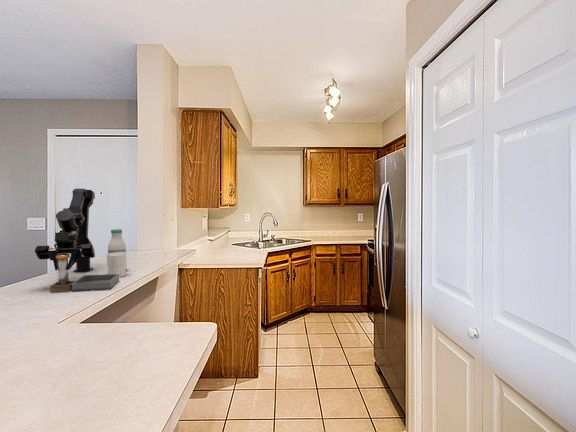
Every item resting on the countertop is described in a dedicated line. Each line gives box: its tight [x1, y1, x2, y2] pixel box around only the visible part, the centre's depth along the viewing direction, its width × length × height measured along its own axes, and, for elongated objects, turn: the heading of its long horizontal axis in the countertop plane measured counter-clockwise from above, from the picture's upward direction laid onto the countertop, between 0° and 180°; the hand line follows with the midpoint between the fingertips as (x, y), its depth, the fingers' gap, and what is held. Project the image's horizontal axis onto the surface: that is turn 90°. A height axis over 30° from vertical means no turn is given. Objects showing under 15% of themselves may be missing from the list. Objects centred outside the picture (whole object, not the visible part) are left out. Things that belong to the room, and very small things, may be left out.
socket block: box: [49, 280, 76, 294], centre depth 126 cm, size 6×6×2 cm
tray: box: [71, 274, 120, 293], centre depth 131 cm, size 13×13×3 cm
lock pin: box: [56, 254, 71, 285], centre depth 125 cm, size 4×4×12 cm
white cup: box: [106, 252, 127, 278], centre depth 147 cm, size 8×8×10 cm
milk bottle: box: [107, 228, 128, 271], centre depth 155 cm, size 8×8×20 cm
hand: (62, 269), depth 124 cm, fingers closed on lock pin, 3 cm apart
